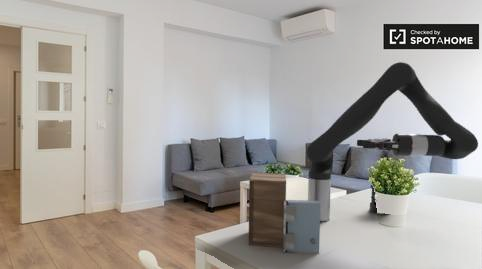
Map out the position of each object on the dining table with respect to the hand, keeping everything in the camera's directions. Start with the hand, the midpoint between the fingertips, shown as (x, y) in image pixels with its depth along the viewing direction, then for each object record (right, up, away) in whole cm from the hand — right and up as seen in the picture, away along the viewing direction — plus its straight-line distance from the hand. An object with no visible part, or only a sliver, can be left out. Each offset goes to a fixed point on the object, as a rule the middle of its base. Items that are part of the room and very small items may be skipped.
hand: (360, 143), depth 116 cm
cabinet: (-30, -34, +1) cm, 45 cm away
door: (-21, -34, -7) cm, 41 cm away
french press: (+24, -32, +40) cm, 56 cm away
